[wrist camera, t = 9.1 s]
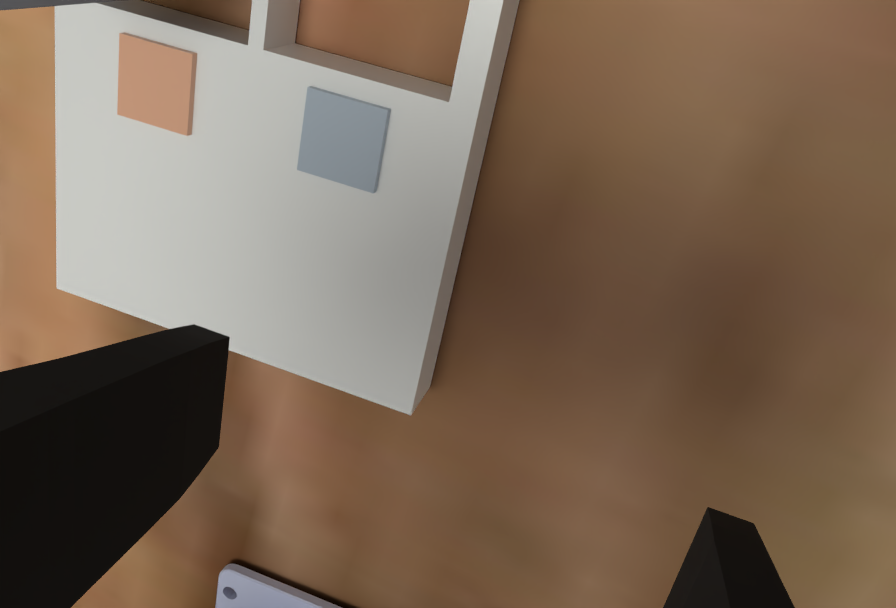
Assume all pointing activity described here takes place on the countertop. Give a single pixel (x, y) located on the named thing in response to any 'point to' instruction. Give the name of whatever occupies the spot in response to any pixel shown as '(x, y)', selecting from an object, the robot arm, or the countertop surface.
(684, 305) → the countertop surface
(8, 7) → the plug
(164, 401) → the robot arm
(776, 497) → the countertop surface
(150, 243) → the socket board
